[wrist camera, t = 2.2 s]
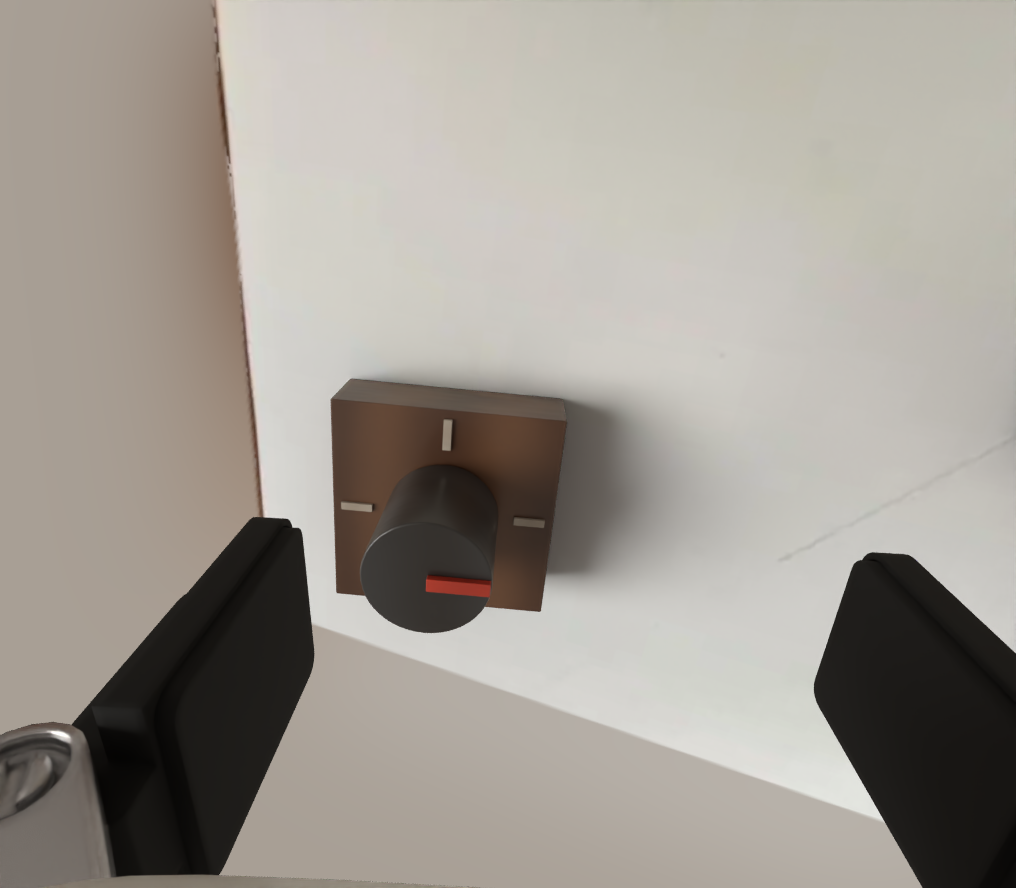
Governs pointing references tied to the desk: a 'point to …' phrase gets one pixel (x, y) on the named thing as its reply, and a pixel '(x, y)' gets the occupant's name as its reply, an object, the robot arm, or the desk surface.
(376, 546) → the dial knob
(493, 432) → the dial panel
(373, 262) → the desk surface
